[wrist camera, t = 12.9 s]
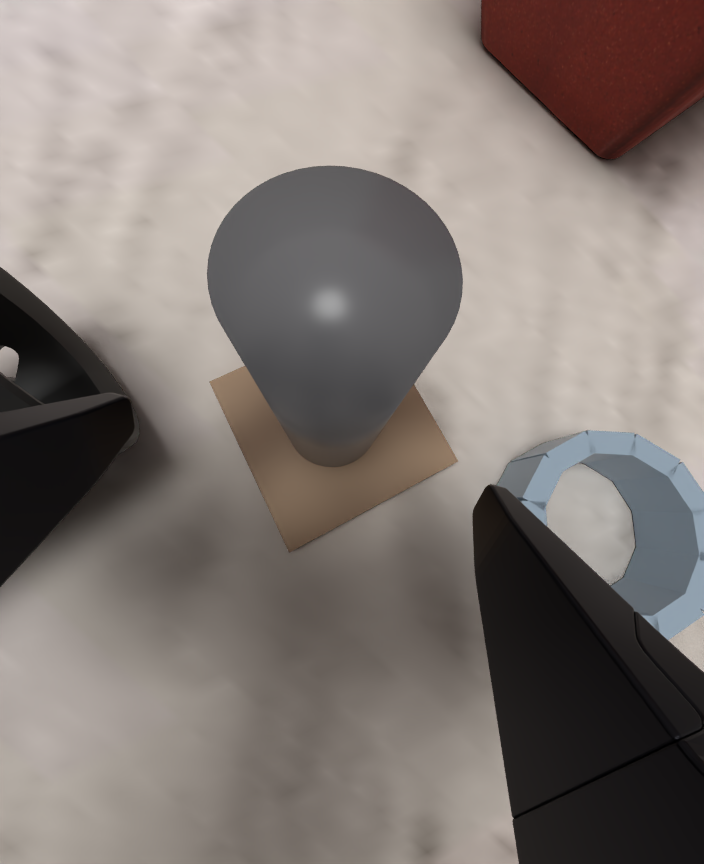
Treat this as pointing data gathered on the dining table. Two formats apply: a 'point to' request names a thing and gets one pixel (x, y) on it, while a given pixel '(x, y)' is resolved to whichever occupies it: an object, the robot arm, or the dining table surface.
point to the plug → (334, 300)
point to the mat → (328, 486)
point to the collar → (652, 516)
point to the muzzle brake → (47, 355)
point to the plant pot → (603, 62)
